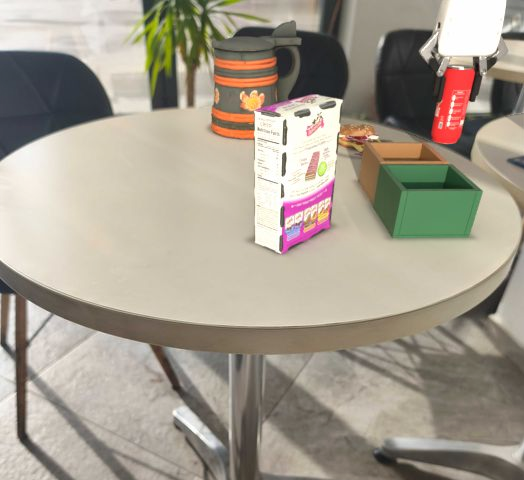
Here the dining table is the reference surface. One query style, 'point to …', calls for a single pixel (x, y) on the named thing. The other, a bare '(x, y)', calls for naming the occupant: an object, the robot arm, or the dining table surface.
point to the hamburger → (357, 136)
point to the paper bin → (392, 160)
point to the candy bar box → (294, 169)
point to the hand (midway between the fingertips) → (453, 99)
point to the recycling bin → (426, 201)
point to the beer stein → (250, 79)
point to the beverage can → (453, 104)
